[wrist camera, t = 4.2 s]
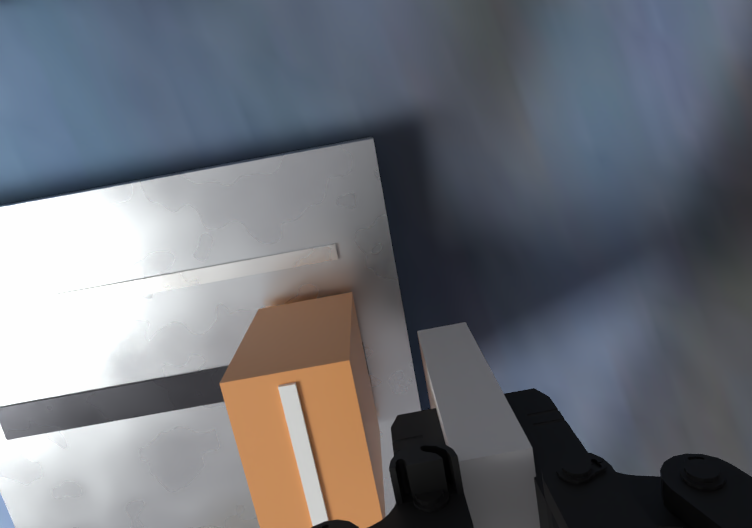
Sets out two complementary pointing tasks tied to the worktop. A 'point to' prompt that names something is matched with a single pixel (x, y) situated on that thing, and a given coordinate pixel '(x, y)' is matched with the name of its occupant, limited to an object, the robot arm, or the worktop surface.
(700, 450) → the worktop surface
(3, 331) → the console
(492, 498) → the robot arm
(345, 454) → the fader
